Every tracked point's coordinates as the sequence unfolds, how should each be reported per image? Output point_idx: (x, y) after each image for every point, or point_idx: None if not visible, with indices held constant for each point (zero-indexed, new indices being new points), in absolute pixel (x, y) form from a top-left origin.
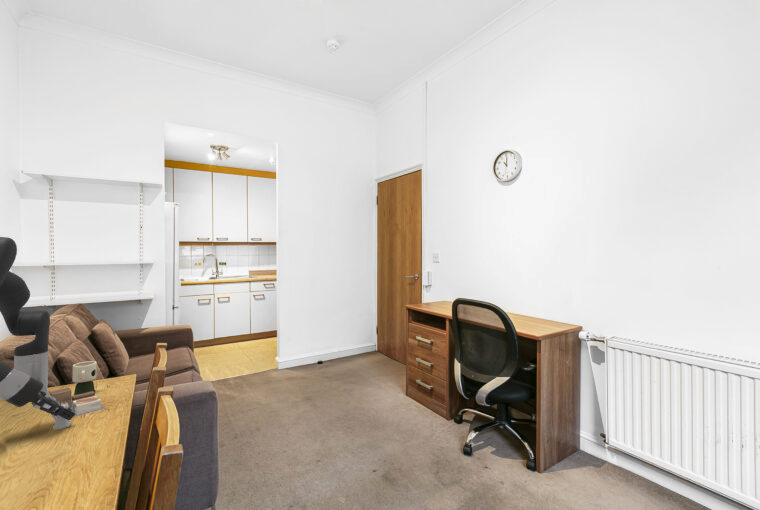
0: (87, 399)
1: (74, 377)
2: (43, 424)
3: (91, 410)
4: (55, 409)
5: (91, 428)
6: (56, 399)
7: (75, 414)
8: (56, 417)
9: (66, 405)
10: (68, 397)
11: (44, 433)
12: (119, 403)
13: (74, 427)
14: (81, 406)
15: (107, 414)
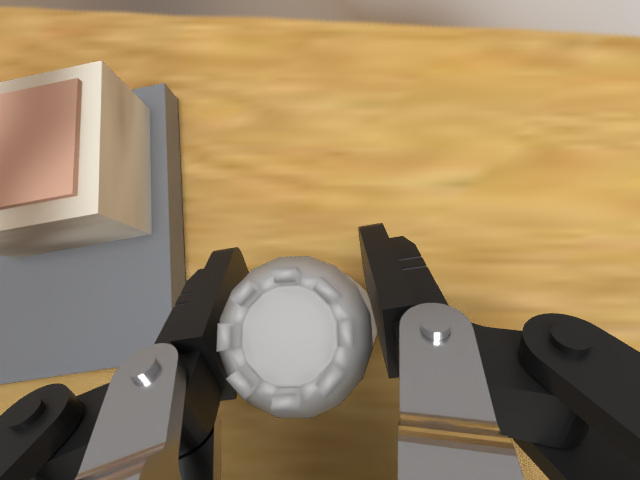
0: (7, 140)
1: None
2: None
3: (147, 153)
4: (314, 415)
5: (423, 171)
6: (10, 421)
7: (132, 242)
8: (88, 354)
9: (332, 284)
10: None
11: (298, 424)
12: (97, 40)
13: (326, 255)
14: (111, 188)
15: (237, 94)
